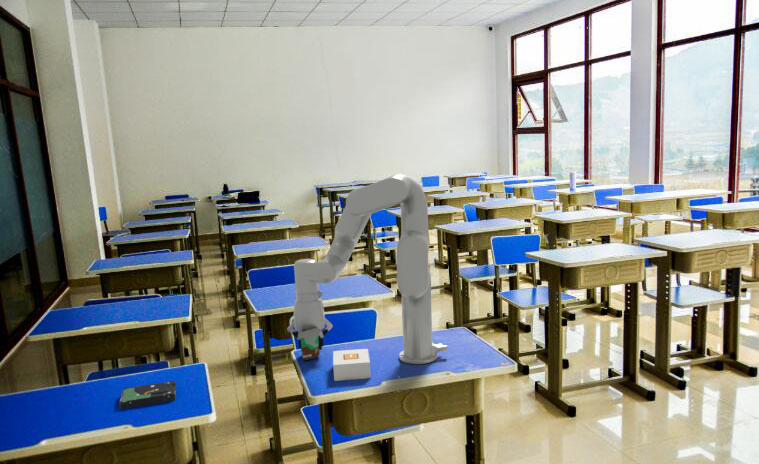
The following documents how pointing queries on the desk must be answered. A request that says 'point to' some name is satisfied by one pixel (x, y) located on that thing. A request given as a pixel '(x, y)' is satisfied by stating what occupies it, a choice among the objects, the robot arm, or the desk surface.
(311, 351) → the food container
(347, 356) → the orange small block
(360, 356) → the switch box
